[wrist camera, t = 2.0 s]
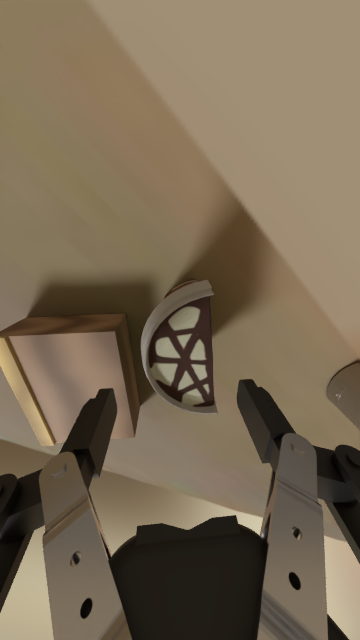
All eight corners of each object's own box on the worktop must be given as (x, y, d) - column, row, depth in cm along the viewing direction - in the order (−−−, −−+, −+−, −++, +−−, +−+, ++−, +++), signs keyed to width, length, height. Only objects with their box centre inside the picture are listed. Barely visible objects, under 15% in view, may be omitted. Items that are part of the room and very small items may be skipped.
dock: (125, 313, 23) (114, 332, 18) (140, 406, 29) (134, 439, 24) (26, 317, 22) (-14, 338, 17) (63, 411, 29) (41, 446, 24)
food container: (140, 272, 21) (119, 296, 12) (194, 266, 21) (213, 285, 12) (157, 360, 26) (151, 426, 17) (200, 355, 26) (218, 417, 17)
